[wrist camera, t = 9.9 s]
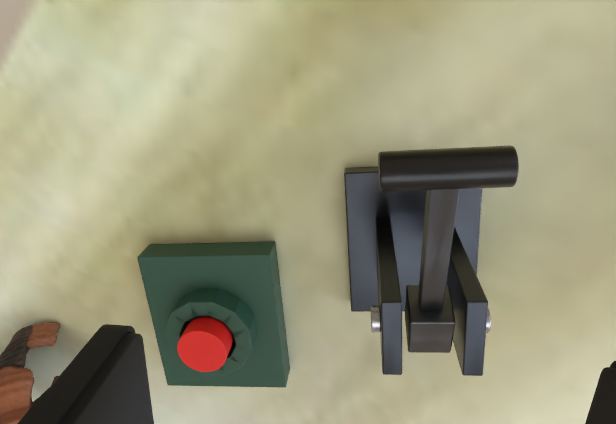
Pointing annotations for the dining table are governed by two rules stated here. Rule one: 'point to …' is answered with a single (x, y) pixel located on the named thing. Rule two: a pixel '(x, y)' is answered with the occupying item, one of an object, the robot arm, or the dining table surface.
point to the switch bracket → (411, 265)
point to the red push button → (205, 344)
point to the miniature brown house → (21, 370)
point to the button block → (219, 308)
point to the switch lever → (440, 225)
